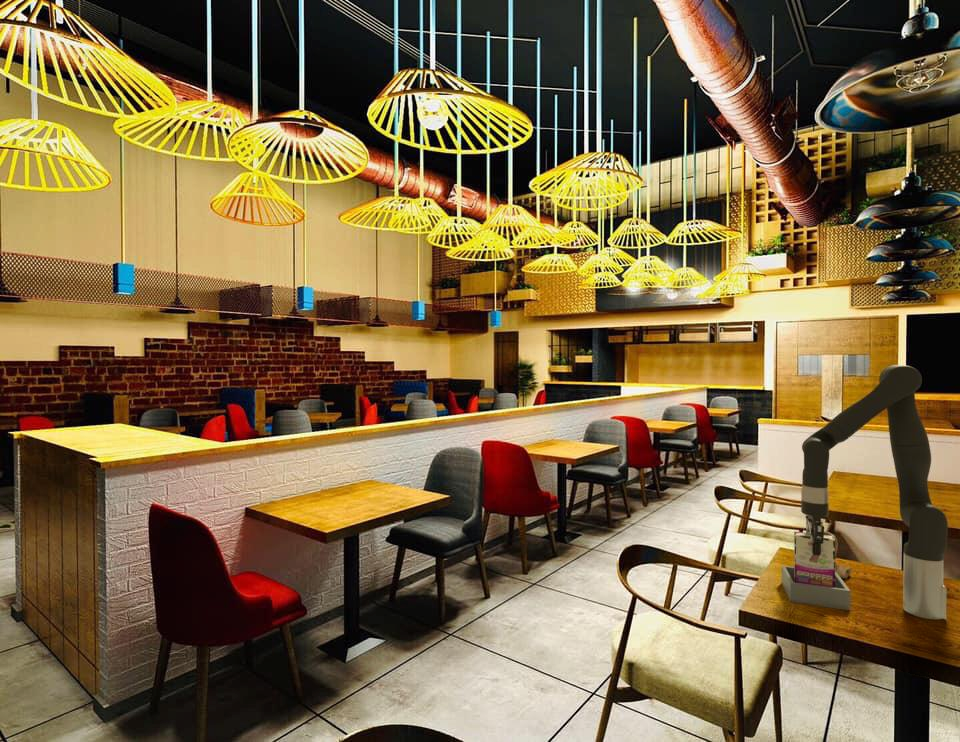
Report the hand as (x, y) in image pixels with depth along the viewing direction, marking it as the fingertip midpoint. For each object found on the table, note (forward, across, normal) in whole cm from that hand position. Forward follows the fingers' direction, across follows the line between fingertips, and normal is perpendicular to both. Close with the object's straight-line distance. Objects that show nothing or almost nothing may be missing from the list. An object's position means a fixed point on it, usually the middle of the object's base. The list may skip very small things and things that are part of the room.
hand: (814, 551), depth 172 cm
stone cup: (+15, +22, -8) cm, 28 cm away
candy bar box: (+11, 0, 0) cm, 11 cm away
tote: (+14, 0, 0) cm, 14 cm away
